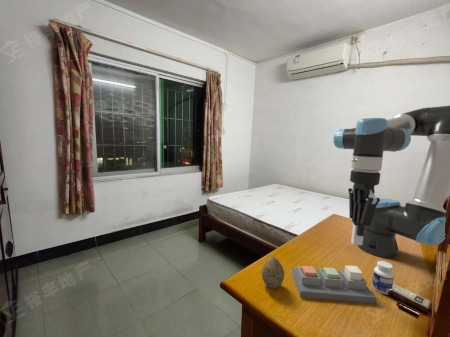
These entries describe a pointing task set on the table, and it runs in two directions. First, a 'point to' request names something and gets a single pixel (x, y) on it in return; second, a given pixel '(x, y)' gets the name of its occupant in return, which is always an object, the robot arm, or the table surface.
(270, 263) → the decorative egg
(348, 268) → the cream button
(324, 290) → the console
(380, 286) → the pill bottle
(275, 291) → the table surface
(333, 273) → the sage button
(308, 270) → the terracotta button
